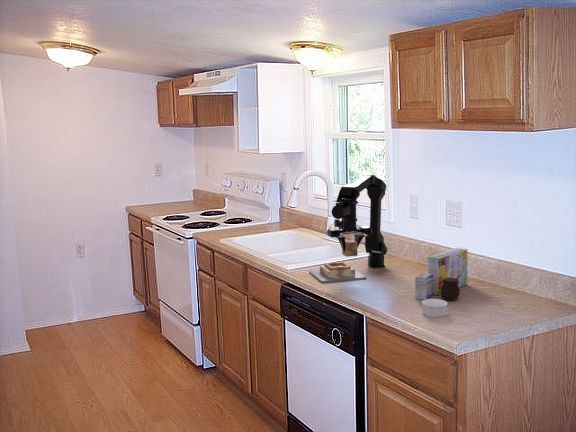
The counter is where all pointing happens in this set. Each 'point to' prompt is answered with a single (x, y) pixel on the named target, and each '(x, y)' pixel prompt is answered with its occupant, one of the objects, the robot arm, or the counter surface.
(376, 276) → the counter surface
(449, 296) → the mate gourd
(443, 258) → the snack box
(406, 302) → the counter surface
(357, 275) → the grey base plate
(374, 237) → the robot arm
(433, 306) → the ramekin
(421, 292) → the medicine box
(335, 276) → the socket plinth
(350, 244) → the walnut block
